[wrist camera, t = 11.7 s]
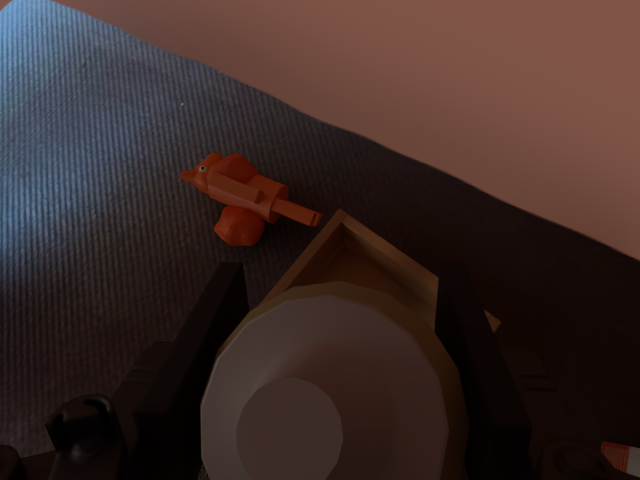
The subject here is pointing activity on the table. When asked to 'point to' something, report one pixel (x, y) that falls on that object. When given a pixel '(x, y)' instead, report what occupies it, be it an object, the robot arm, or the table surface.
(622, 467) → the medicine box
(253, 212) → the orange toy bird
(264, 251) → the table surface
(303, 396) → the squeeze bottle
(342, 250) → the open wooden box
